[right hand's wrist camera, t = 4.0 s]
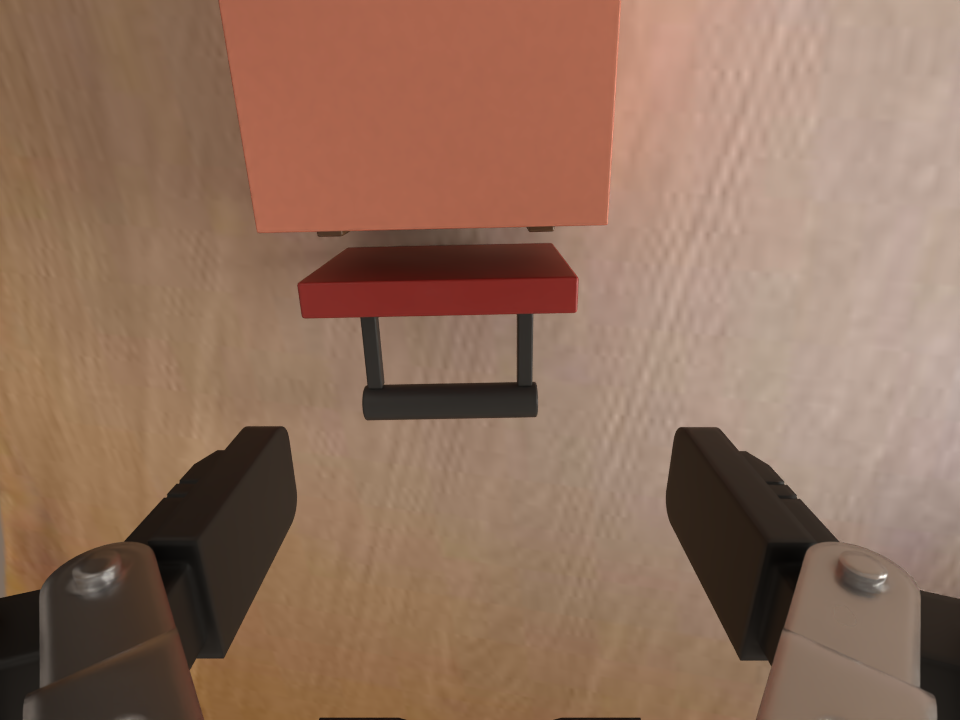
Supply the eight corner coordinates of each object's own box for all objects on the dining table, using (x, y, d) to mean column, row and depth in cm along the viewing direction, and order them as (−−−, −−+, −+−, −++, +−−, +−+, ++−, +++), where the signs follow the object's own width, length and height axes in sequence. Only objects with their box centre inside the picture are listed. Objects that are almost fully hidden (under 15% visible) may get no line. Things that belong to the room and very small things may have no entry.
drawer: (549, 383, 26) (571, 459, 20) (361, 386, 26) (322, 463, 20) (565, -266, 18) (612, -503, 11) (291, -256, 18) (183, -486, 11)
